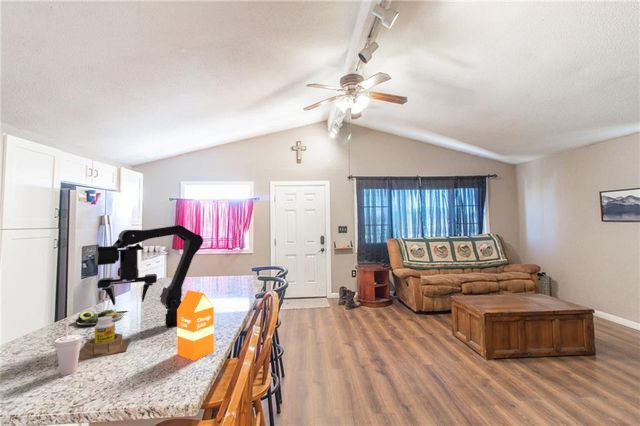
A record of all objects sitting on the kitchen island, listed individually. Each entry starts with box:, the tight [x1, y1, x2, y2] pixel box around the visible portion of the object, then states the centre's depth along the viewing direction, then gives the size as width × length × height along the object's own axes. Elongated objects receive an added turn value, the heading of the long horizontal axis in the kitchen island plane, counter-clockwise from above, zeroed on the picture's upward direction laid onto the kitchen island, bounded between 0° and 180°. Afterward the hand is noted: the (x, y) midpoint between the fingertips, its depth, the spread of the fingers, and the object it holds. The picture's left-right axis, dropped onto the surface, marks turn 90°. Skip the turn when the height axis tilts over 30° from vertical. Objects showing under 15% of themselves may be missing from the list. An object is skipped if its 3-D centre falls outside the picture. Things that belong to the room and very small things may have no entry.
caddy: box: [78, 332, 132, 361], centre depth 101 cm, size 14×12×4 cm
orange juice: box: [176, 289, 215, 361], centre depth 98 cm, size 8×9×20 cm
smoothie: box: [53, 322, 84, 376], centre depth 86 cm, size 6×6×14 cm
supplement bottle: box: [94, 316, 116, 344], centre depth 102 cm, size 6×6×10 cm
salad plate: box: [75, 309, 129, 328], centre depth 134 cm, size 19×18×5 cm
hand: (128, 303), depth 113 cm, fingers open, 9 cm apart
